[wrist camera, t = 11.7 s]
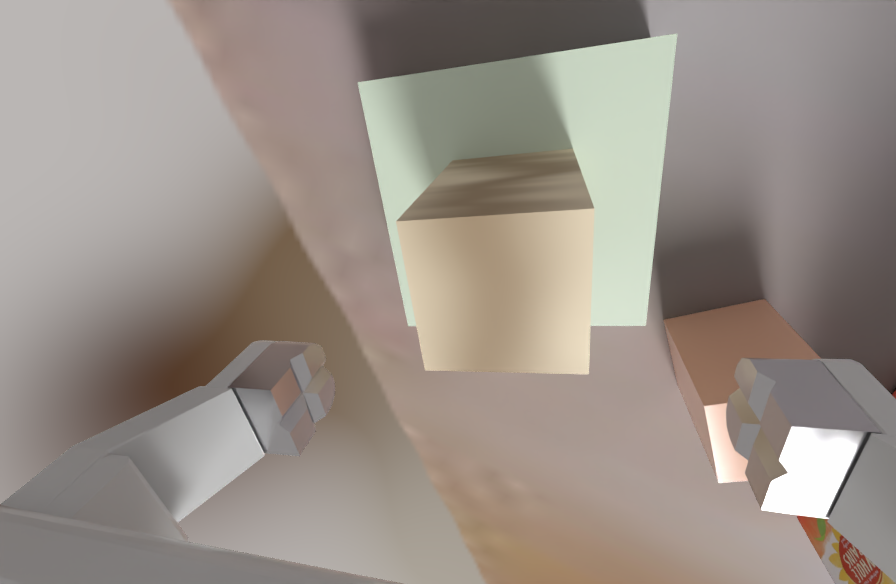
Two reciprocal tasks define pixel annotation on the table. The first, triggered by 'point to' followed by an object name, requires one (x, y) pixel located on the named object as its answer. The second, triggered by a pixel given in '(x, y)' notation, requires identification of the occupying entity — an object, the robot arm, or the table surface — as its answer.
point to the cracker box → (841, 553)
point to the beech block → (502, 265)
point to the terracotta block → (725, 368)
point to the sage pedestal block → (541, 145)
